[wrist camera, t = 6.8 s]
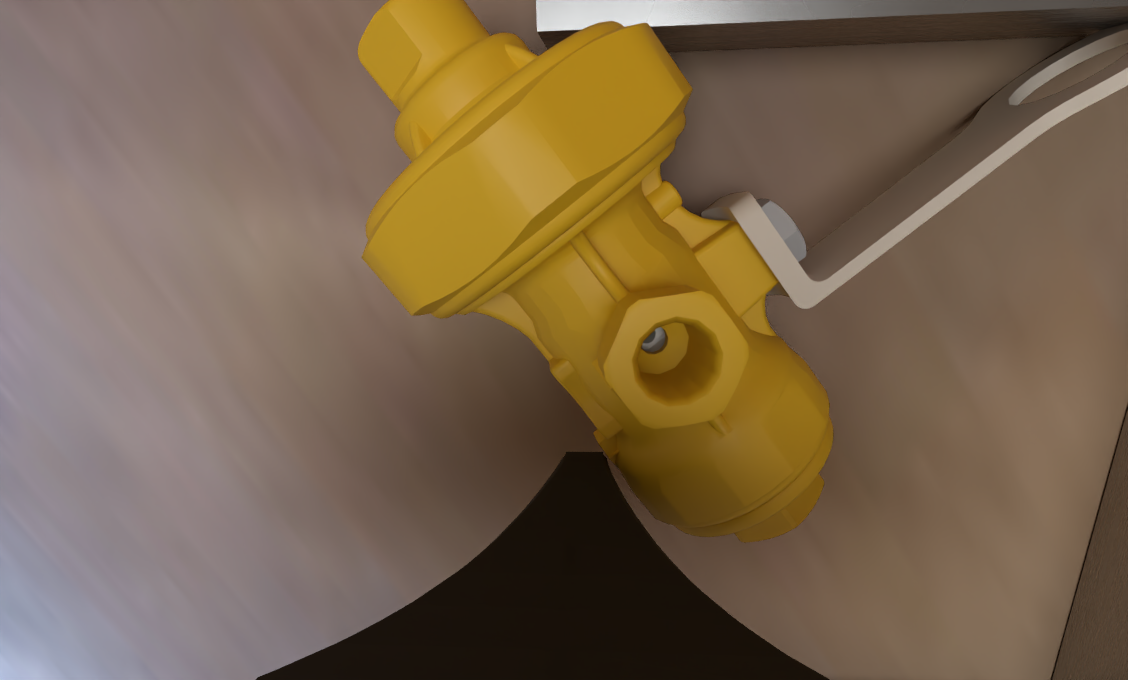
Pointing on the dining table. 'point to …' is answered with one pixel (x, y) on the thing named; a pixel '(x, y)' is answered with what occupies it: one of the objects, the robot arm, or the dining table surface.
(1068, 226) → the dining table surface
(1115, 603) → the flange dock
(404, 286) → the pressure relief valve
